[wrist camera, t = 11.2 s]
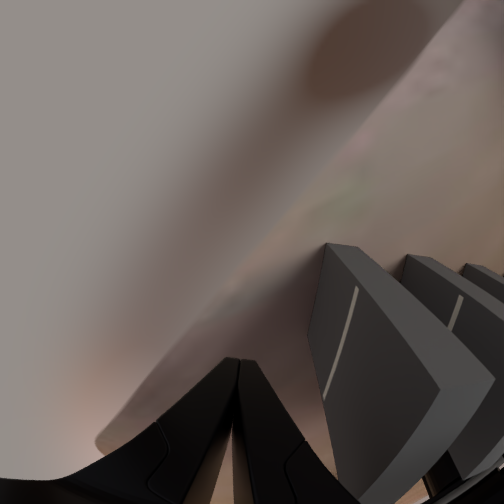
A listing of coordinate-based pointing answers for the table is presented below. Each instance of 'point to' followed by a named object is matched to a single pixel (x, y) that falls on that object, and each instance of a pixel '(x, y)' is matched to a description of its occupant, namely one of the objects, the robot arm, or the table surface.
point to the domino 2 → (478, 342)
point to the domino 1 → (386, 377)
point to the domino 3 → (485, 280)
